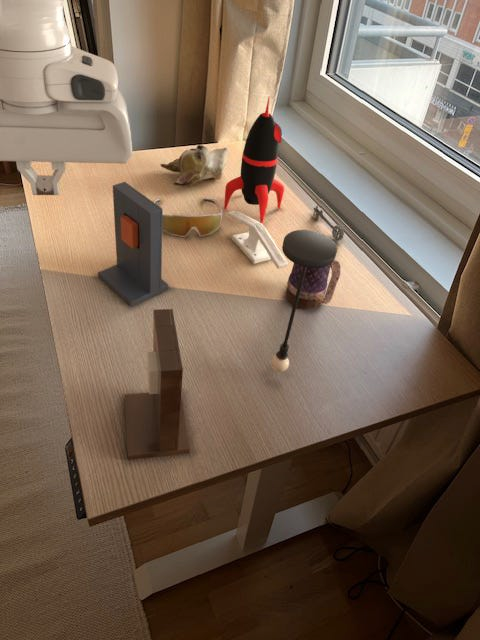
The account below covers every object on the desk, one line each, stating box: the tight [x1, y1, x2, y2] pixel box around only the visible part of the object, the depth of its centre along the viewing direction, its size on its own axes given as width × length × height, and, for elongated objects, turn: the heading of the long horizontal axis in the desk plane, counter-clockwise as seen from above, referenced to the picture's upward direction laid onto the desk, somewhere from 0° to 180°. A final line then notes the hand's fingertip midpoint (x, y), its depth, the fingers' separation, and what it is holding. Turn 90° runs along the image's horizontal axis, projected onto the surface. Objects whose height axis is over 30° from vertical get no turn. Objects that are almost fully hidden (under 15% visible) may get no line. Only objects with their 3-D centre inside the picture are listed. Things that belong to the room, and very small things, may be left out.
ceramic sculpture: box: [160, 144, 229, 188], centre depth 120 cm, size 11×9×15 cm
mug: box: [285, 259, 342, 310], centre depth 90 cm, size 10×7×12 cm
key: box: [312, 205, 345, 242], centre depth 112 cm, size 12×1×3 cm, turn 24°
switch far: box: [121, 215, 138, 248], centre depth 85 cm, size 1×3×4 cm, turn 44°
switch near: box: [146, 350, 158, 394], centre depth 64 cm, size 1×3×4 cm, turn 12°
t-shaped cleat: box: [227, 210, 289, 270], centre depth 103 cm, size 4×20×5 cm, turn 30°
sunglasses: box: [153, 198, 223, 238], centre depth 109 cm, size 14×15×5 cm
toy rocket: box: [223, 97, 285, 224], centre depth 108 cm, size 10×10×25 cm
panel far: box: [97, 181, 169, 307], centre depth 87 cm, size 8×10×17 cm
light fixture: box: [271, 229, 338, 373], centre depth 72 cm, size 7×7×25 cm
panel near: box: [124, 308, 191, 461], centre depth 66 cm, size 8×10×17 cm
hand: (46, 192), depth 61 cm, fingers closed
